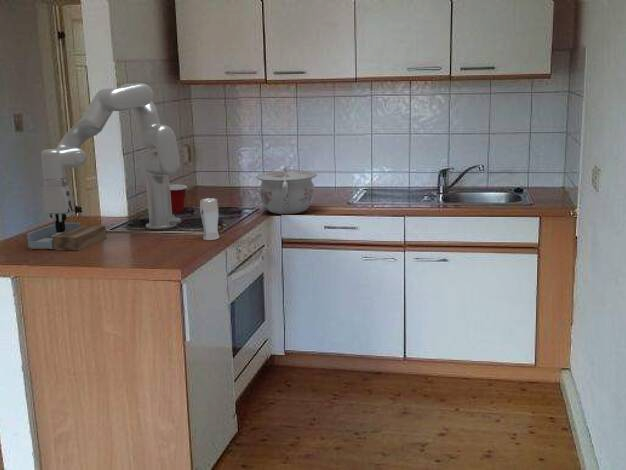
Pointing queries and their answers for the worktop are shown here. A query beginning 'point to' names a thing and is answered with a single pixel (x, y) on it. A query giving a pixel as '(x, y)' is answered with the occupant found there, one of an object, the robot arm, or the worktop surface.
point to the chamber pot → (287, 191)
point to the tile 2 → (46, 240)
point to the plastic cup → (177, 197)
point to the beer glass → (209, 218)
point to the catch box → (46, 235)
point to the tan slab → (79, 237)
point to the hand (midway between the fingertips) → (60, 231)
